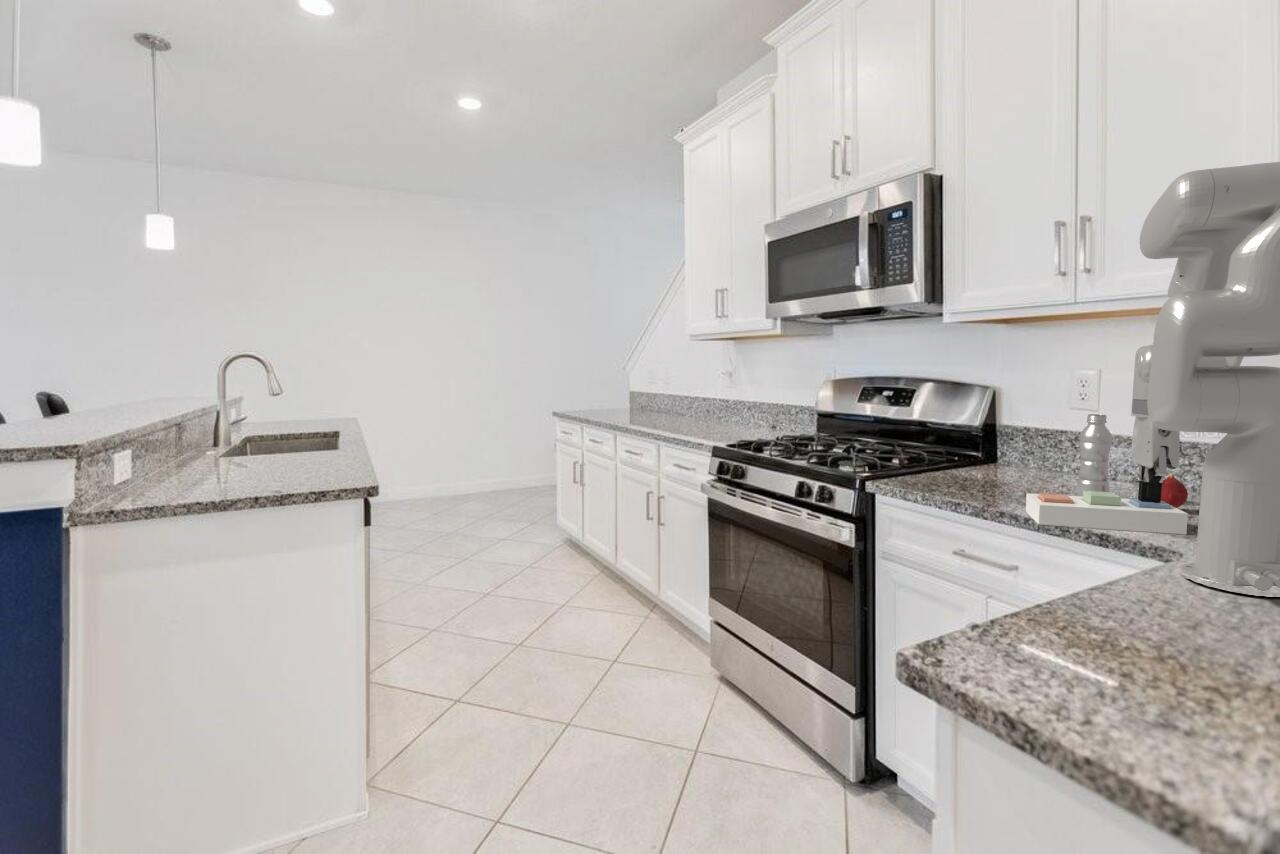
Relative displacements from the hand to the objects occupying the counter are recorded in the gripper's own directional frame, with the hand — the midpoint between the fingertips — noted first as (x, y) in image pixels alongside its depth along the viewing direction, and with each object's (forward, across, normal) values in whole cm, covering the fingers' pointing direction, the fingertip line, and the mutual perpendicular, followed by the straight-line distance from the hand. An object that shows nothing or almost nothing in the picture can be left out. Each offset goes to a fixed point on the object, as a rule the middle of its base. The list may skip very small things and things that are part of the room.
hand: (1149, 501), depth 127 cm
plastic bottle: (+5, +24, +3) cm, 25 cm away
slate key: (+3, 0, 0) cm, 3 cm away
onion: (+5, +16, -9) cm, 19 cm away
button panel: (+5, 0, +8) cm, 9 cm away
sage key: (+2, 0, +8) cm, 8 cm away
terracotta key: (+3, 0, +16) cm, 16 cm away
